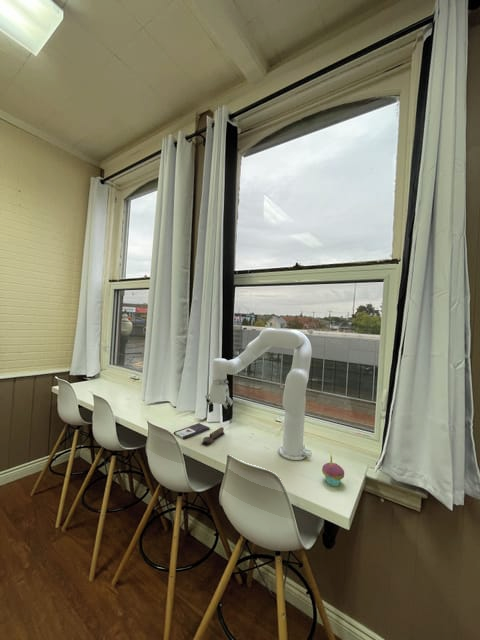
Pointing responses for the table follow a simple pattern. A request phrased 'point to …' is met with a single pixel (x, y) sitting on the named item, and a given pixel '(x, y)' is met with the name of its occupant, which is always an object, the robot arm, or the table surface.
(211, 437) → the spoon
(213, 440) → the black remote control
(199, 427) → the chocolate bar
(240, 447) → the table surface
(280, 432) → the table surface
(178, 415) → the table surface
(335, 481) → the cupcake
